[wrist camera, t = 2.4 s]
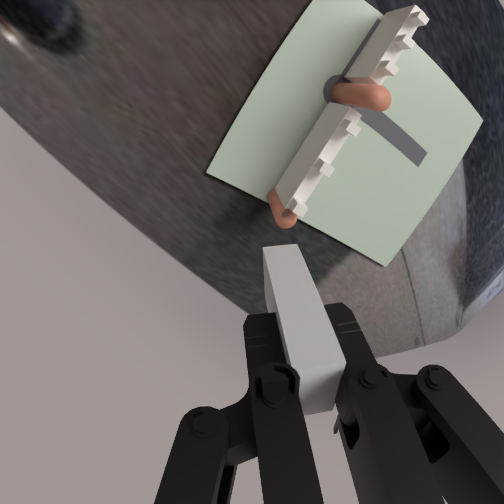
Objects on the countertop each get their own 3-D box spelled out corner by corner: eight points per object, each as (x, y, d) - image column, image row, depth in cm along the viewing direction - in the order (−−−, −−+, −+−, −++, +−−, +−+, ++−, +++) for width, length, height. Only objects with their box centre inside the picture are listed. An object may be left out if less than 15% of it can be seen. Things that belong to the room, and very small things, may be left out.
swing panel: (326, 100, 25) (354, 106, 19) (342, 110, 25) (372, 119, 20) (263, 200, 29) (274, 230, 24) (279, 208, 30) (293, 239, 25)
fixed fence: (326, 94, 25) (362, 100, 18) (381, 10, 21) (427, -3, 14) (342, 106, 26) (382, 117, 19) (396, 23, 21) (444, 14, 14)
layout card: (206, 171, 28) (205, 172, 28) (328, -22, 19) (330, -23, 18) (384, 265, 36) (386, 267, 36) (481, 119, 27) (483, 120, 26)
